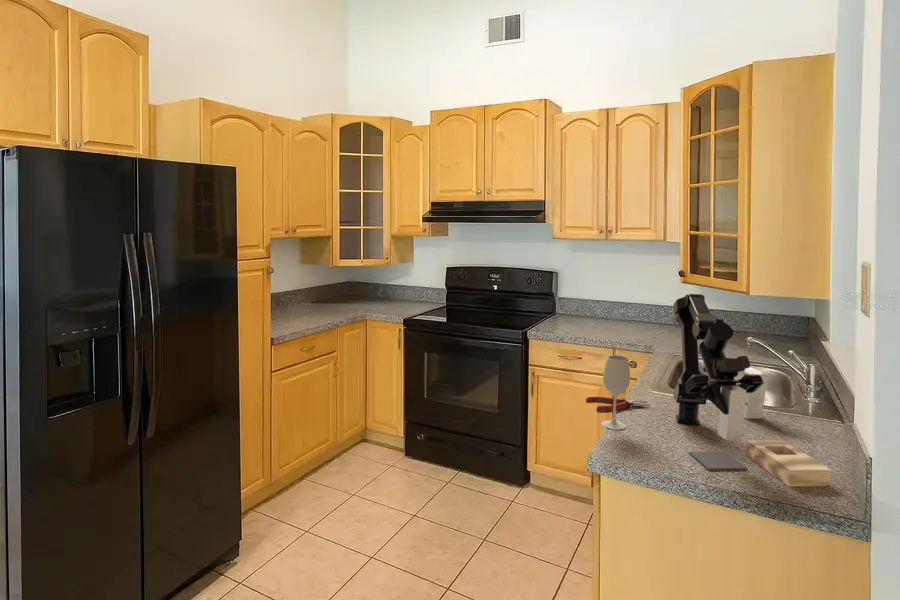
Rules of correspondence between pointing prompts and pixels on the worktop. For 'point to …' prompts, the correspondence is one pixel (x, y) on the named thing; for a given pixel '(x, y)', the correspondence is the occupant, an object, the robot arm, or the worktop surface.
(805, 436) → the worktop surface
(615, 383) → the wineglass
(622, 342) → the worktop surface
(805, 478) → the wooden block with hole
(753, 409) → the skincare box
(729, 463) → the rubber mat
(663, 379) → the worktop surface
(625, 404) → the pliers
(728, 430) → the steel bar
